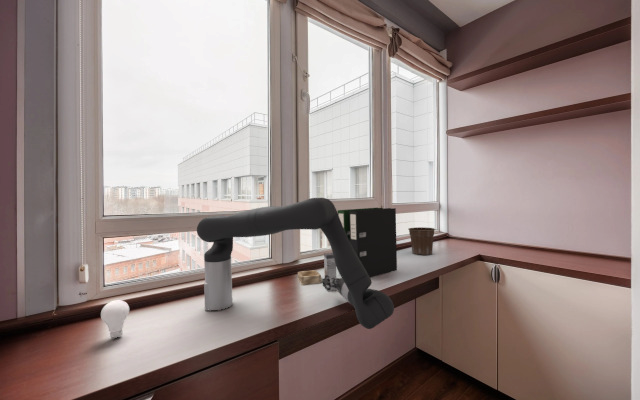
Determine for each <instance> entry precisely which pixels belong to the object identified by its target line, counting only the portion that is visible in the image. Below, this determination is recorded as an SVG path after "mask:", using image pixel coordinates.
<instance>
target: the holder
mask: <svg viewBox="0 0 640 400" xmlns="http://www.w3.org/2000/svg"><path fill="white" fill-rule="evenodd" d="M297 280H298V281H299V283H300V285H301V286H306V285H314V284H321V283H322V274H320V273H319V271H317V270H316V269H315V270H314V269H313V270H303V271H297Z"/></svg>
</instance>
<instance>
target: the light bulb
mask: <svg viewBox="0 0 640 400" xmlns="http://www.w3.org/2000/svg"><path fill="white" fill-rule="evenodd" d="M129 313H130V306H129V304H128V303H127V302H126V301H125V300H121V299H115V300H112V301H109V302H108V303H106V304H105V305H104V306H103V307H102V309H101V312H100V318H101V320H102V322H103V323H104V324H105V325H106V326H107V329H108V332H109V337H110V339H113V338H117V337H119V338H120V337H122V336H123V334H124V333H123V328H124V323H125V322H126V319H127V317H128V316H129ZM117 339H118V338H117Z"/></svg>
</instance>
